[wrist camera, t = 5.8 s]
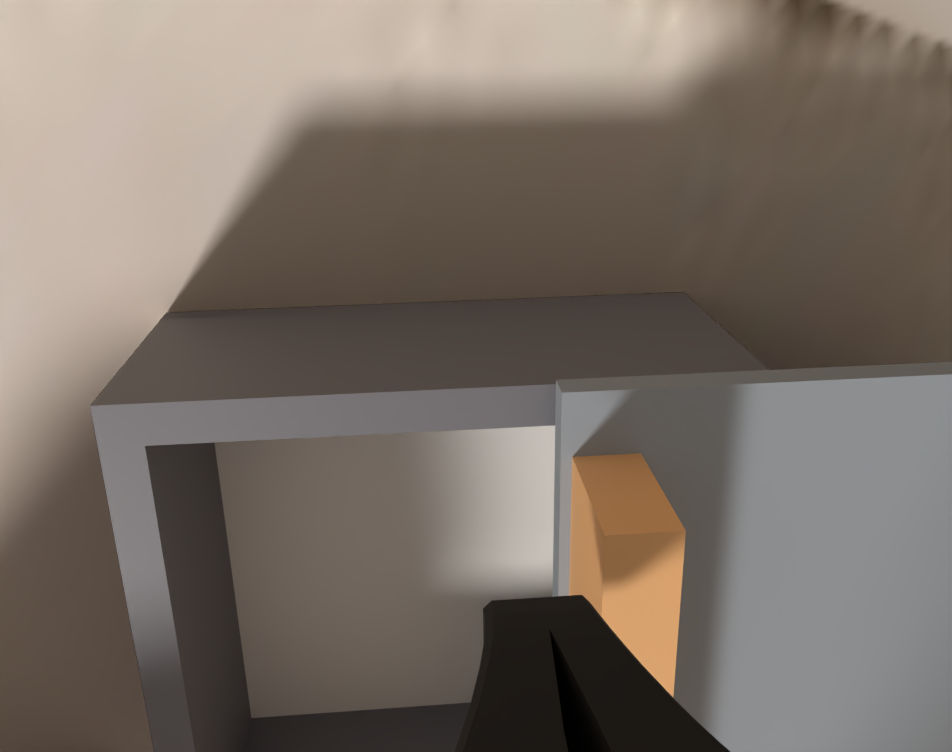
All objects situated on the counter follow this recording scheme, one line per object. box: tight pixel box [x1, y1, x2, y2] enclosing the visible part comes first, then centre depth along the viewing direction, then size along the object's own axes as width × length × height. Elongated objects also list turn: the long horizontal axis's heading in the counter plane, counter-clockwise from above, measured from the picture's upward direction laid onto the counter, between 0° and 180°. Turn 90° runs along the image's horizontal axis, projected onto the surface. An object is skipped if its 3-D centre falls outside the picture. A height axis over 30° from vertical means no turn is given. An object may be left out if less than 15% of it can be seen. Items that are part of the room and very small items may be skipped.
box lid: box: [553, 361, 952, 752], centre depth 17 cm, size 12×12×3 cm
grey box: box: [90, 292, 769, 752], centre depth 21 cm, size 12×12×6 cm
